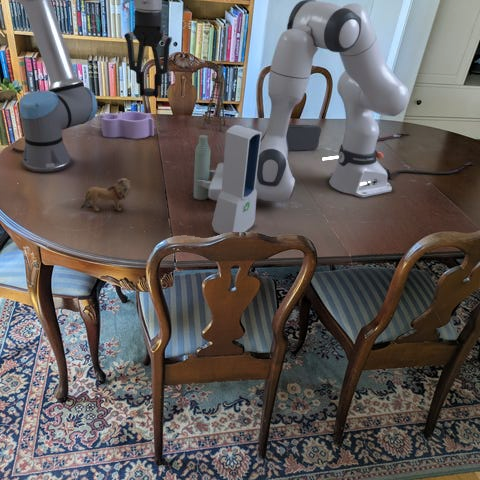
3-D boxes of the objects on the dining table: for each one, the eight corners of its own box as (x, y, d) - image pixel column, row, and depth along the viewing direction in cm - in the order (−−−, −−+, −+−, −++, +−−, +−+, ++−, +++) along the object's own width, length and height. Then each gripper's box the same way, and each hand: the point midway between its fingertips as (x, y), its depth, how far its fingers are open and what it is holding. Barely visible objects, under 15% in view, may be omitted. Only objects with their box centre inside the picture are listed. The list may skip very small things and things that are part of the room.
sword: (406, 132, 223) (406, 130, 222) (411, 134, 221) (412, 132, 220) (362, 144, 207) (363, 141, 206) (368, 146, 205) (368, 143, 204)
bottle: (204, 192, 153) (208, 133, 142) (210, 198, 149) (213, 138, 139) (191, 194, 151) (193, 134, 140) (196, 200, 148) (199, 139, 137)
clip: (103, 139, 182) (102, 122, 178) (101, 128, 192) (100, 111, 188) (155, 138, 188) (155, 121, 184) (150, 127, 198) (149, 111, 194)
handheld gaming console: (315, 147, 196) (319, 124, 190) (317, 149, 194) (322, 126, 188) (264, 149, 189) (267, 125, 183) (266, 152, 187) (269, 127, 181)
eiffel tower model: (220, 131, 201) (226, 58, 185) (202, 128, 202) (205, 55, 186) (225, 124, 209) (231, 54, 193) (207, 122, 210) (211, 51, 194)
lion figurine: (130, 201, 143) (129, 174, 138) (133, 209, 139) (132, 182, 134) (79, 205, 138) (76, 178, 133) (81, 214, 134) (78, 186, 129)
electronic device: (232, 242, 129) (242, 138, 113) (210, 232, 132) (217, 130, 116) (255, 224, 138) (267, 126, 122) (233, 216, 141) (243, 119, 125)
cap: (142, 93, 142) (141, 88, 142) (154, 92, 144) (154, 88, 143) (143, 96, 139) (143, 91, 139) (156, 96, 141) (156, 91, 140)
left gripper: (114, 9, 126) (118, 96, 138) (176, 15, 126) (175, 101, 139) (121, 5, 132) (124, 89, 145) (180, 11, 132) (178, 94, 145)
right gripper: (246, 161, 153) (205, 155, 154) (239, 188, 136) (192, 182, 137) (244, 178, 157) (204, 173, 157) (237, 207, 139) (192, 201, 140)
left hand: (149, 95), depth 142 cm, fingers closed on cap, 4 cm apart
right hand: (198, 177), depth 147 cm, fingers closed on bottle, 4 cm apart
